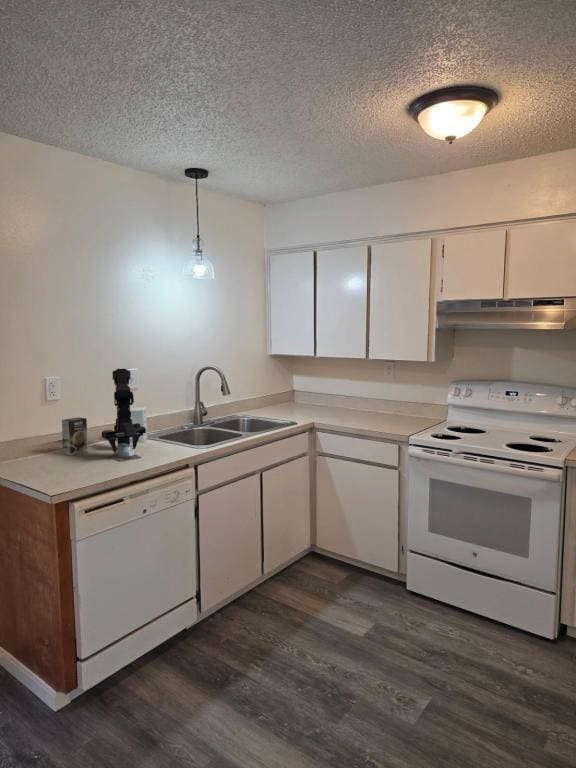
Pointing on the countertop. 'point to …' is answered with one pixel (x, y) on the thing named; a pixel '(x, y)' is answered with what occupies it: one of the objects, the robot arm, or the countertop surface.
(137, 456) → the mat
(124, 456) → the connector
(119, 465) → the countertop surface
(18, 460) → the countertop surface
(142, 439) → the supplement box
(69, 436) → the coffee box
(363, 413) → the countertop surface
